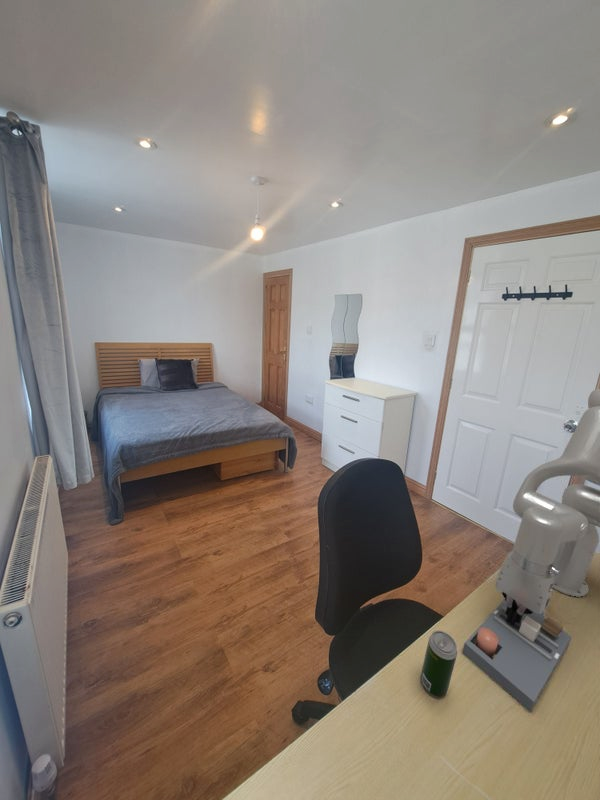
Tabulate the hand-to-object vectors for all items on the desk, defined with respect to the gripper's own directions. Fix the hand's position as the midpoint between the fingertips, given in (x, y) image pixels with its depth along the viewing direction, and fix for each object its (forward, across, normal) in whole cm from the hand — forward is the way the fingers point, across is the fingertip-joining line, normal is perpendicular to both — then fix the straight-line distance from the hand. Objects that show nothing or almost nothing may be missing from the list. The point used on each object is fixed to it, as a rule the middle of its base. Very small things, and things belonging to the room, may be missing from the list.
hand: (512, 620), depth 79 cm
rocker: (0, -6, -6) cm, 9 cm away
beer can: (+4, +4, +27) cm, 28 cm away
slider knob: (0, -4, 0) cm, 4 cm away
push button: (+2, +1, +11) cm, 11 cm away
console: (+4, -3, +3) cm, 6 cm away
